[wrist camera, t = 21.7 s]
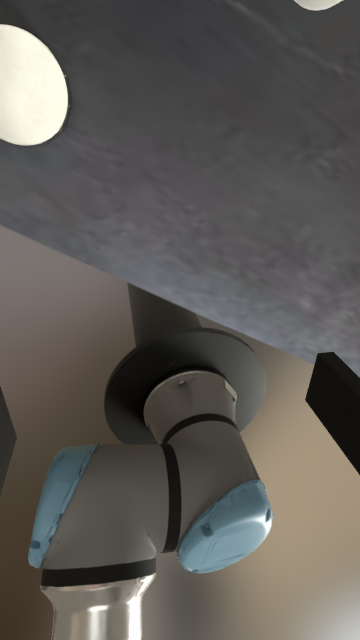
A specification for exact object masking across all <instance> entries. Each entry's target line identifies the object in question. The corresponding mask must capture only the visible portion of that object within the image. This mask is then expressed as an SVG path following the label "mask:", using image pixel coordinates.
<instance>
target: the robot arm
mask: <svg viewBox="0 0 360 640" xmlns="http://www.w3.org/2000/svg"><path fill="white" fill-rule="evenodd" d="M235 399H236V400H237V394H236V392H235V391H234V390H233V389H232V387H231V385H230V382H229V381H228V379H227V378H226V377H225V376H224V375H223V374H222V373H221V372H219V371H217V370H215V369H213V368H210V367H206V366H185V367H181V368H177V369H175V370H172V371H170V372H168V373H166V374H164V375H163V376H161V377H160V378H159V379H157V380H156V381H155V382H154V383H153V384H152V385H151V387H150V388H149V389H148V391H147V393H146V395H145V397H144V401H143V413H144V420H145V423H146V425H147V427H148V429H149V430H150V432H151V433H152V434H153V435H154V436H155V439H156V441H157V443H158V444H123V445H122V444H121V445H99V443H94V444H93V445H82V446H70V447H66V448H63V449H62V450H61V451H59V452H58V453H57V454H56V456H55V457H54V459H53V461H52V463H51V466H50V468H49V471H48V474H47V477H46V480H45V484H44V487H43V491H42V494H41V498H40V502H39V506H38V510H37V514H36V518H35V523H34V527H33V532H32V540H31V546H30V549H29V556H28V561H29V564H30V565H32V566H35V567H36V568H40V567H41V566H42V565H43V573H42V581H41V590H42V591H43V592H44V594H45V595H46V596H47V597H48V599H49V600H50V601H51V603H52V604H53V607H54V621H53V631H52V640H142V597H143V595H144V592H145V591H146V589H147V588H148V587H149V585H150V584H151V582H152V581H153V580H154V578H155V577H156V554H157V553H167V552H177V556H178V560H179V561H180V563H181V564H182V566H183V568H185V570H187V571H193V572H194V573H206V572H212V571H216V570H219V569H222V568H225V567H227V566H229V565H231V564H233V563H235V562H237V561H239V560H241V559H242V558H244V557H245V556H247V555H248V554H250V553H251V552H252V551H254V550H255V549H256V548H257V547H258V546H259V545H260V544H261V543H262V542H263V541H264V539H265V538H266V536H267V535H268V533H269V531H270V529H271V526H272V520H273V514H272V510H271V506H270V503H269V500H268V497H267V494H266V492H265V487H264V484H263V482H262V481H261V480H260V478H259V476H258V473H257V471H256V469H255V466H254V464H253V462H252V460H251V458H250V455H249V453H248V451H247V449H246V446H245V444H244V442H243V440H242V437H241V435H240V433H239V431H238V428H237V426H236V412H235ZM305 400H306V402H307V403H308V405H309V406H310V407H311V408H312V410H313V411H314V413H315V414H316V415H317V417H318V418H319V420H320V421H321V422H322V424H323V425H324V427H325V428H326V429H327V431H328V432H329V433H330V435H331V436H332V437H333V439H334V440H335V441H336V443H337V444H338V446H339V447H340V448H341V450H342V451H343V453H344V454H345V455H346V457H347V458H348V460H349V461H350V462H351V463H352V465H353V466H354V468H355V469H356V470H357V472H358V473H359V475H360V378H359V377H358V376H357V375H356V374H355V373H354V372H353V371H352V370H351V369H350V368H349V367H348V366H347V365H346V364H345V363H344V362H343V361H342V360H341V359H340V358H339V357H338V356H337V355H336V354H335V353H334V352H327V353H318V354H317V358H316V362H315V366H314V369H313V373H312V377H311V380H310V384H309V388H308V392H307V395H306V399H305ZM16 439H17V437H16V434H15V430H14V428H13V424H12V421H11V418H10V415H9V412H8V409H7V406H6V403H5V400H4V397H3V393H2V390H1V387H0V495H1V491H2V488H3V484H4V481H5V477H6V474H7V470H8V467H9V463H10V460H11V456H12V453H13V449H14V446H15V442H16Z"/></svg>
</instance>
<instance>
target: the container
mask: <svg viewBox="0 0 360 640" xmlns="http://www.w3.org/2000/svg"><path fill="white" fill-rule="evenodd" d="M294 1H295V2H296V3H297V4H299V5H300V6H301V7H303V8H306V9H308V10H315V11H318V10H324V9H327V8H330V7H332V6H334V5H336V4H337V3H339V2H341V1H343V0H294Z"/></svg>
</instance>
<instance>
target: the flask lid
mask: <svg viewBox="0 0 360 640" xmlns="http://www.w3.org/2000/svg"><path fill="white" fill-rule="evenodd" d="M71 108H72V107H71V92H70V87H69V83H68V78H67V76H66V75H65V72H64V71H63V69H62V67H61V65H60V64H59V62H58V61H57V59H56V58H55V56H54V55H53V54H52V52H51V50H50V49H49V48H48V46H46V45H45V44H43V43H42V42H41V41H40V40H39V39H38V38H37V37H35V36H34V35H33V34H31V33H29V32H27V31H26V30H23V29H21V28H19V27H16V26H12V25H6V24H0V139H2V140H4V141H6V142H9V143H12V144H15V145H22V146H31V145H37V144H41V145H42V144H45V142H47V141H50V140H52V139H53V138H55V137H56V136H57V135H58V134H59V133H60V132H61V131H63V128H64V127H65V125H66V123H67V121H68V119H69V115H70V110H71Z"/></svg>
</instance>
